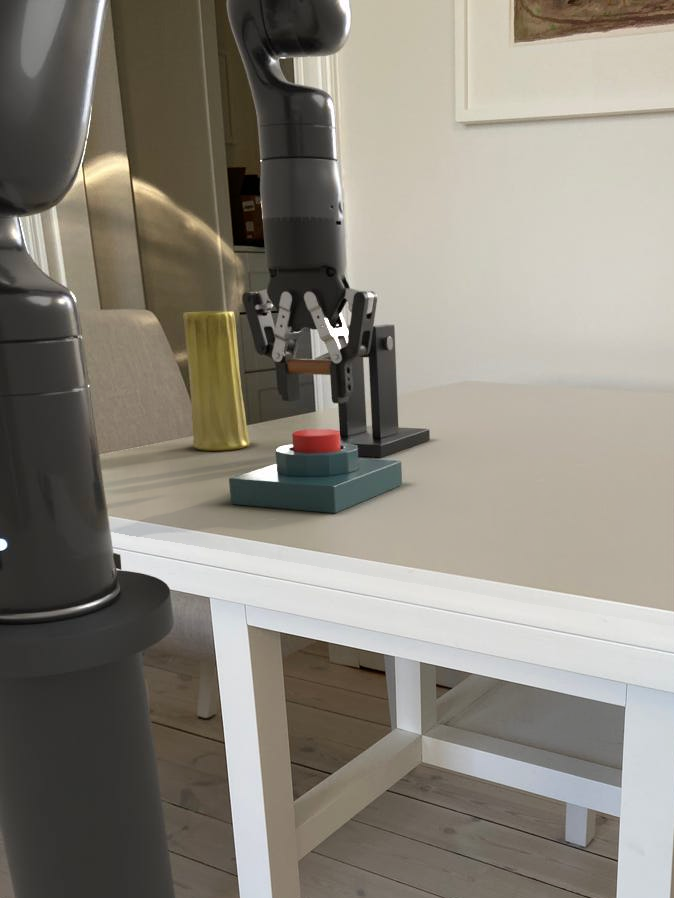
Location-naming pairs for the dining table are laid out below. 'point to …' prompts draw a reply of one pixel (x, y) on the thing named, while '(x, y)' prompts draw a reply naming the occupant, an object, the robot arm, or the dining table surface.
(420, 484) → the dining table surface
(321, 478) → the control block
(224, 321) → the vase
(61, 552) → the robot arm
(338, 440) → the button
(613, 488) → the dining table surface
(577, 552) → the dining table surface
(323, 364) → the lever
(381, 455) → the bracket
